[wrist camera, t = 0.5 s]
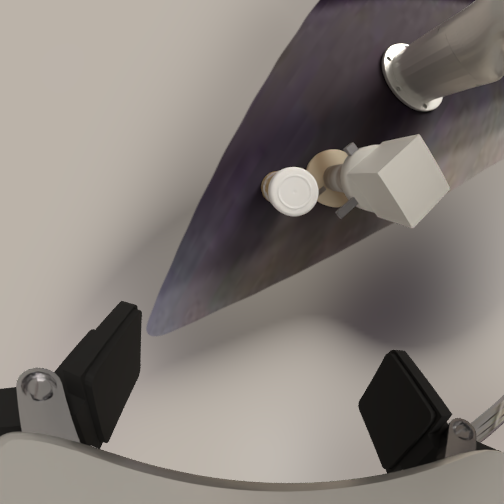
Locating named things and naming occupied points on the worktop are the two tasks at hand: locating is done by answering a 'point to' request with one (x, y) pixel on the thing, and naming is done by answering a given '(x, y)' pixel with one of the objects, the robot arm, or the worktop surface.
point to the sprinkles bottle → (291, 190)
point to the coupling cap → (392, 180)
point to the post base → (318, 171)
